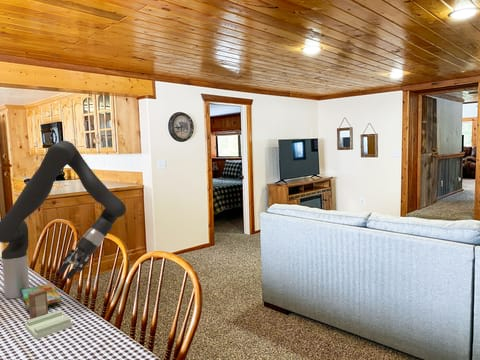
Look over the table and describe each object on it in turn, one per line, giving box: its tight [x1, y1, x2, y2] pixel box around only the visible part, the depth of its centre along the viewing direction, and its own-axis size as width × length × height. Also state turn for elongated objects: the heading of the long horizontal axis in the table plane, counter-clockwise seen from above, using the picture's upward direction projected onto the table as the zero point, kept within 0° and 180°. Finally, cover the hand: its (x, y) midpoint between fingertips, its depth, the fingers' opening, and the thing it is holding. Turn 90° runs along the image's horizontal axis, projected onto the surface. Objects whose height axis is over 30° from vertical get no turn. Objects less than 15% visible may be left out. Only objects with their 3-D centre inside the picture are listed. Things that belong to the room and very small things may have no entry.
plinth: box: [24, 309, 74, 340], centre depth 128 cm, size 11×12×3 cm
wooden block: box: [28, 289, 49, 320], centre depth 135 cm, size 4×5×10 cm
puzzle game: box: [22, 282, 62, 310], centre depth 150 cm, size 12×5×20 cm
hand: (63, 275), depth 141 cm, fingers open, 8 cm apart
